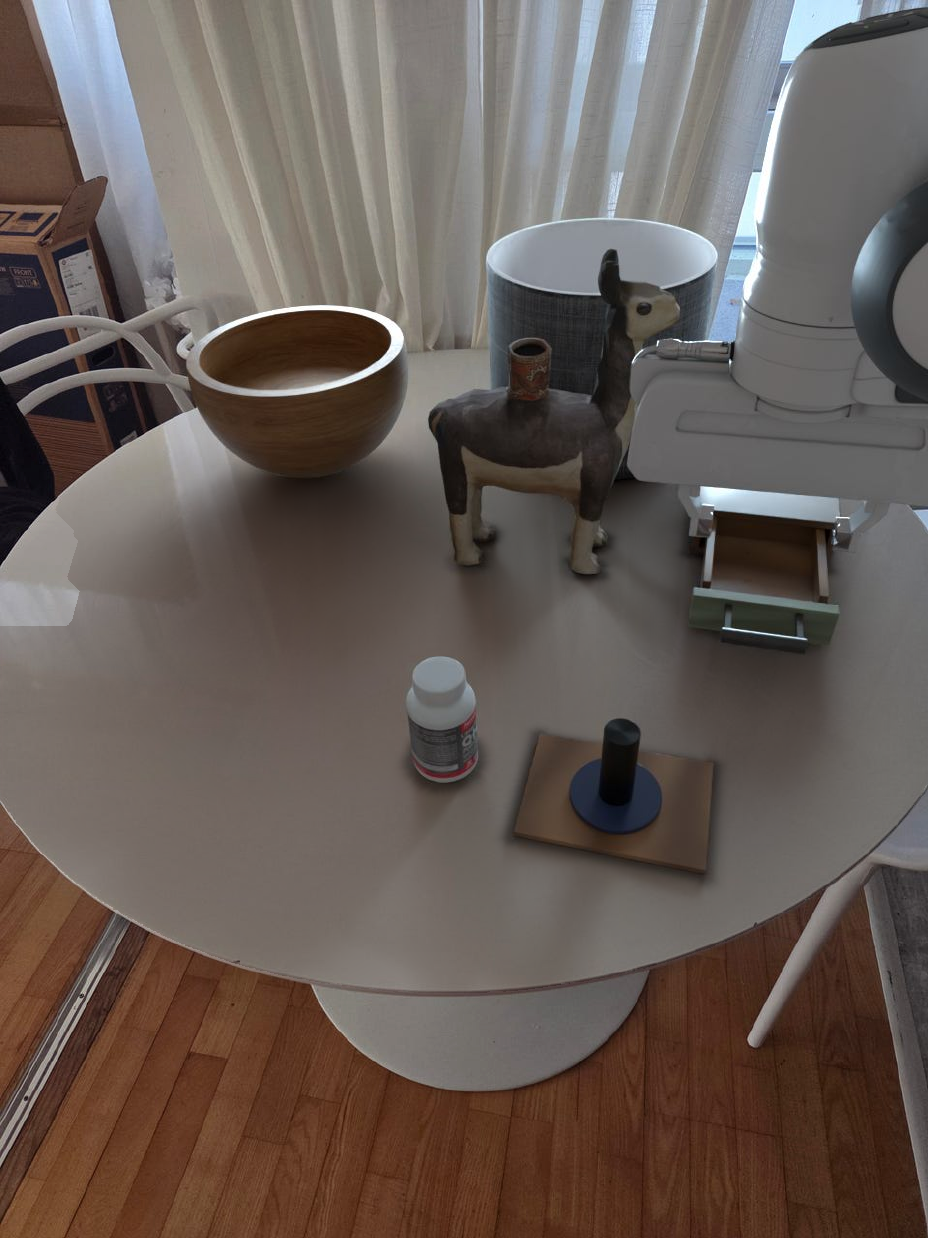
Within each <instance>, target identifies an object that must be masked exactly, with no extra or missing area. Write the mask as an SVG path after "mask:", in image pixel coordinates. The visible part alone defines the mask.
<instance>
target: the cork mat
mask: <svg viewBox="0 0 928 1238" xmlns="http://www.w3.org/2000/svg"><path fill="white" fill-rule="evenodd" d="M602 747H603V743H598V742H593V741H587V740H582V739H575V738H569V737H563V736H557V735H551V734H546V733H539V736H538V740H537V742H536V747H535V751H534V754H533V758H532V762H531V765H530V769H529V772H528V777H527V780H526V783H525V788H524V791H523V795H522V799H521V802H520V806H519V810H518V813H517V817H516V821H515V825H514V829H513V836H515V837H519V838H523V839H527V840H528V839H529V840H533V841H539V842H543V843H549V844H553V845H558V846H563V847H569V848H574V849H578V850H584V851H589V852H593V853H599V854H603V855H608V856H613V857H618V858H623V859H628V860H634V861H637V862H643V863H647V864H653V865H658V866H662V867H667V868H673V869H678V870H684V871H688V872H693V873H697V874H703V875H706V872H707V864H708V852H709V851H708V850H709V835H710V822H711V808H712V793H713V780H714V779H713V778H714V777H713V776H714V767H715V766H714V762H709V761H703V760H697V759H691V758H686V757H685V758H684V757H680V756H674V755H668V754H663V753H657V752H652V751H651V752H650V751H645V750H640V749H639V752H638V760H637V763H638V764H640V765H641V766H643V767H644V768H646V769H647V770H648V771H649V772H651V773H652V775H653V776H654V777H655V778H656V780H657V781H658V783H659V785H660V788H661V791H662V805H661V809H660V812H659V814H658V816H657V818H656V819H655V820H654V821H653V822H652V823H651V824H650V825H649V826H647V827H646V828H644V829H642V830H640V831H638V832H635V833H631V834H623V835H618V834H609V833H605V832H601V831H599V830H596V829H594V828H592V827H591V826H589V825H587V824H586V823H585V822H584V821H582V820H581V819H580V818H579V816H578V815H577V814H576V812H575V811H574V809H573V807H572V805H571V802H570V784H571V781H572V779H573V776H574V775H575V773H576V772H577V771H578V770H579V769H580V768H581V767H582V766H584V765H585V764H587V763H589V762H591V761H593V760H596V759H600V758H602Z"/></svg>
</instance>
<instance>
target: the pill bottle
mask: <svg viewBox="0 0 928 1238" xmlns="http://www.w3.org/2000/svg"><path fill="white" fill-rule="evenodd" d="M466 675H467V674H466V670H465V668H464V666H463V665H462V663H461V662H459V661H458V660H456V659H454V658H452V657H448V656H433V657H428V658H425V659H424V660H422V661H421V662H419V663H418V664H417V665H416V666H415V667H414V669H413V671H412V678H411V679H412V680H411V681H412V686H411V687H410V688H409V691H408V693H407V696H406V699H405V709H406V716H407V722H408V728H409V729H408V730H409V738H410V747H411V753H412V761H413V764H414V765H413V766H414V767H415V769H416V770H417V771H418V773H419V774H420V775H421V776H422V777H424V778H425V779H427V780H429V781H432V782H436V783H440V784H441V783H444V784H446V783H452V782H456V781H460V780H461V779H464V778H465V777H467V776H468V775H470V774H471V773H472V771H473V770H474V769H475V767H476V766H477V763H478V760H479V740H478V722H477V701H476V696H475V695H476V694H475V692H474V690H473V688H472V687H471V685H470V684H469V683H468V682H467V677H466Z"/></svg>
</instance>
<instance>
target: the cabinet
mask: <svg viewBox="0 0 928 1238" xmlns="http://www.w3.org/2000/svg"><path fill="white" fill-rule="evenodd" d="M699 498H700V500H701V502H702V504H706V505H714V512H713V517H721V518H730V519H740V520H749V521H758V522H767V523H777V524H786V525H795V526H804V527H814V528H823V529H825V543H826V557H827V571H828V570H829V569H830V566H831V563H832V562H831V561H832V558H833V555H834V552H835V550H832V549H831V547H832V544H831V535H832V531H833V530H834V523H835V520H836V517H842V516H841V515H842V513H841V503H840V499H838V498H827V497H816V496H805V495H793V494H782V493H771V492H760V491H749V490H737V489H726V488H715V487H704V486H700V492H699ZM691 537H692V538H691V543H690V551H689V553H690V554H693V555H702V556H703V555H704V546H705V537H696V536H691Z"/></svg>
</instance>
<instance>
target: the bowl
mask: <svg viewBox="0 0 928 1238" xmlns="http://www.w3.org/2000/svg"><path fill="white" fill-rule="evenodd" d="M408 356H409V355H408V348H407V344H406V341H405V337H404V333H403V331H402V329H401V328H400V326H399V325H398V324H397V323H396V322H395V321H393V320H392V319H390V318H389V317H386V316H385V315H382V314H380V313H378V312H374V311H371V310H368V309H363V308H358V307H353V306H352V307H351V306H343V305H303V306H301V305H300V306H293V307H291V306H290V307H285V308H278V309H273V310H266V311H263V312H259V313H255V314H252V315H248V316H245V317H241V318H239V319H236V320H234V321H230V322H229V323H226V324H224V325H222V326H220V327H218V328H216V329H214V330H212V331H210V332H209V333H207V334H206V335H205V336H203V337H202V338H200V339H199V340H198V341H197V342H196V343H195V344H194V345H193V346H192V347H191V349H190V350H189V352H188V355H187V356H186V363H185V364H186V365H185V366H186V373H187V380H188V384H189V389H190V392H191V395H192V399H193V401H194V404H195V406H196V408H197V410H198V412H199V414H200V416H201V418H202V419H203V421H204V423H205V424H206V425H207V428H208V429H209V430H210V432H211V433H212V434H213V436H214V437H215V438H216V439H217V440H218V441H219V442H220V443H221V444H223V446H224V447H225V448H226V449H227V450H229V451H230V452H231V453H232V454H234V455H235V456H236V457H237V458H239V459H240V460H242V461H243V462H245V463H246V464H249V465H251V466H253V467H255V468H256V469H259V470H262V471H263V472H266V473H270V474H274V475H277V476H281V477H282V476H283V477H287V478H288V477H289V478H295V479H296V478H297V479H308V478H319V477H326V476H330V475H333V474H336V473H339V472H342V471H344V470H347V469H349V468H351V467H353V466H355V465H356V464H358V463H359V462H361V461H363V460H364V459H365V458H367V457H369V456H370V455H371V454H372V453H373V452H374V451H375V450H376V449H378V447H379V446H380V445H381V444H383V441H385V439H387V437H388V435H389V434H390V433H391V431H392V429H394V426H395V425H396V423H397V420H398V418H399V417H400V414H401V411H402V409H403V407H404V403H405V400H406V396H407V393H408V392H407V391H408V385H409V368H410V367H409V366H410V365H409V357H408Z"/></svg>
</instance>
